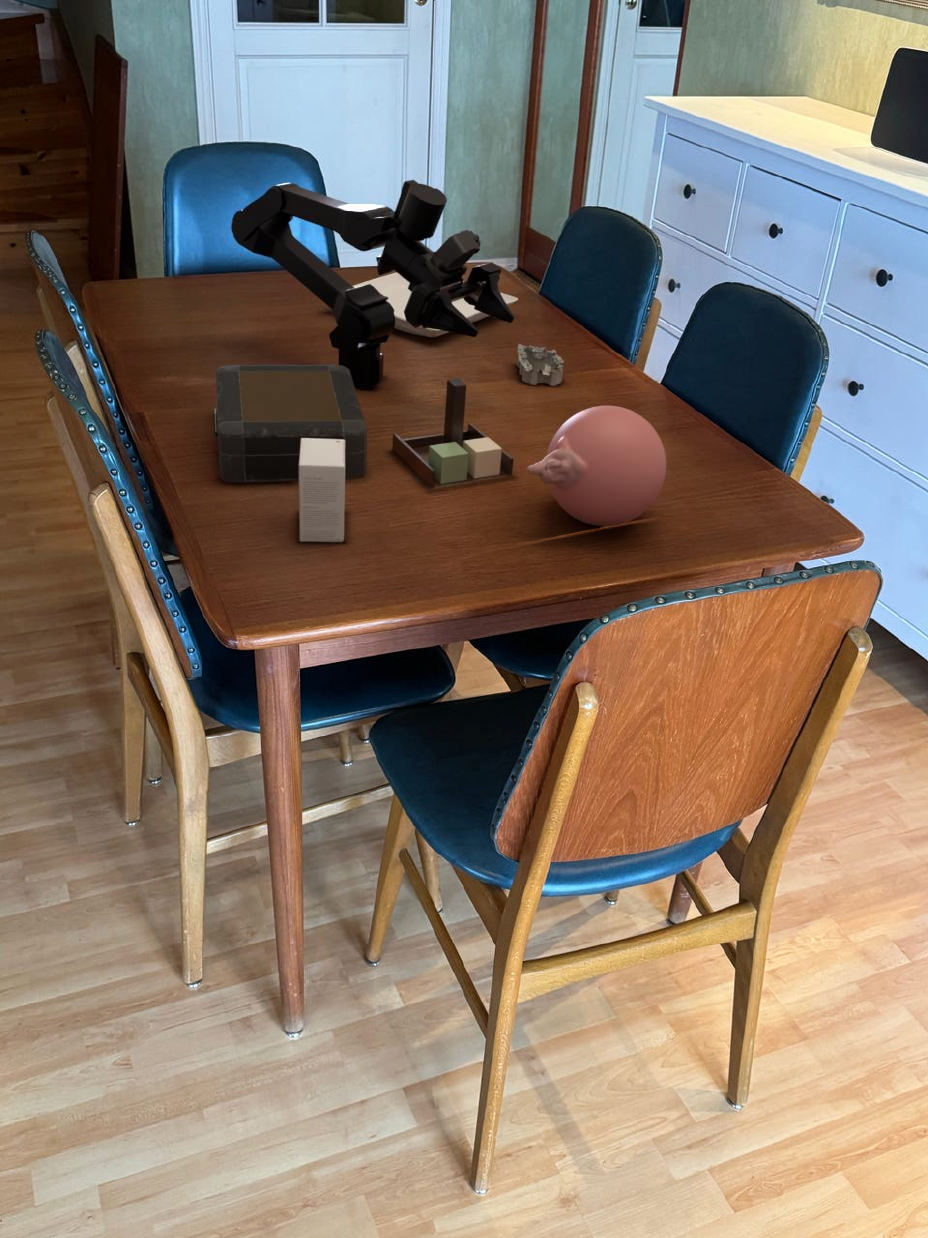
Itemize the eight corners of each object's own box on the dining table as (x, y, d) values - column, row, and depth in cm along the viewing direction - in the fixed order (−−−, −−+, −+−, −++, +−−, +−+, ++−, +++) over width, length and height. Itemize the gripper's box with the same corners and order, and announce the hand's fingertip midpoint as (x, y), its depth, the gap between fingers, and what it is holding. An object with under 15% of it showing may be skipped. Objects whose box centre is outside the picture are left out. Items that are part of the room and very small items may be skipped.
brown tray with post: (392, 453, 160) (395, 370, 153) (469, 441, 165) (475, 361, 158) (431, 491, 150) (436, 405, 143) (511, 478, 155) (520, 394, 149)
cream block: (461, 466, 156) (463, 440, 154) (486, 462, 158) (488, 436, 156) (474, 478, 153) (476, 452, 151) (499, 474, 155) (502, 448, 153)
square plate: (409, 284, 229) (410, 265, 227) (519, 316, 217) (521, 296, 215) (321, 312, 210) (321, 292, 208) (435, 348, 198) (437, 327, 196)
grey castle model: (563, 387, 186) (566, 364, 184) (518, 385, 186) (521, 361, 184) (557, 364, 195) (560, 342, 193) (515, 362, 195) (517, 339, 193)
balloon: (488, 509, 147) (498, 400, 139) (612, 485, 156) (628, 381, 147) (549, 563, 136) (564, 448, 128) (679, 535, 145) (700, 425, 136)
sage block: (427, 471, 154) (429, 445, 152) (453, 467, 156) (455, 441, 153) (440, 484, 151) (442, 457, 149) (466, 479, 153) (468, 453, 151)
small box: (301, 512, 143) (300, 436, 137) (344, 513, 143) (345, 437, 138) (298, 542, 136) (297, 464, 130) (344, 543, 137) (345, 465, 131)
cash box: (214, 412, 168) (211, 363, 163) (348, 410, 172) (348, 362, 167) (215, 486, 147) (212, 432, 143) (367, 482, 151) (368, 429, 147)
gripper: (396, 227, 154) (478, 293, 150) (475, 208, 167) (552, 268, 163) (372, 295, 161) (449, 359, 157) (449, 271, 174) (522, 330, 170)
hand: (495, 327), depth 162 cm, fingers open, 9 cm apart
